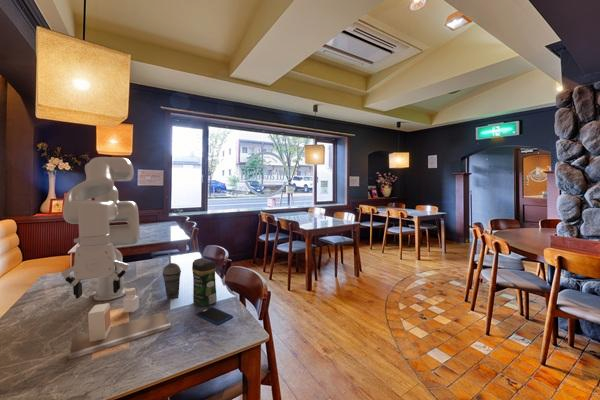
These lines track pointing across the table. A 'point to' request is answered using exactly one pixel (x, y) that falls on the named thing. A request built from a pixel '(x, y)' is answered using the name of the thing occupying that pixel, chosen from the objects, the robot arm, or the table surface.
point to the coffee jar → (204, 282)
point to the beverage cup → (172, 280)
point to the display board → (119, 334)
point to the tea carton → (99, 322)
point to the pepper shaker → (131, 301)
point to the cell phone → (214, 315)
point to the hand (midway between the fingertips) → (98, 294)
